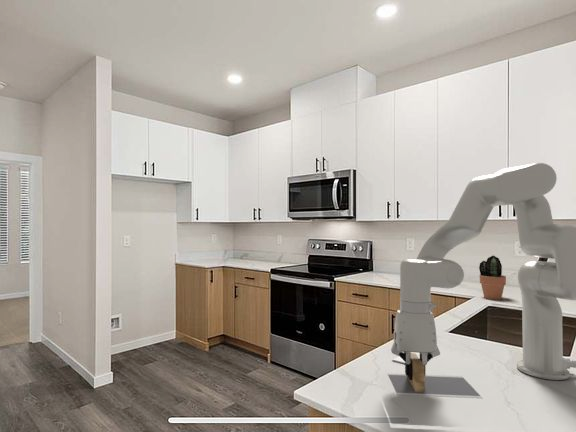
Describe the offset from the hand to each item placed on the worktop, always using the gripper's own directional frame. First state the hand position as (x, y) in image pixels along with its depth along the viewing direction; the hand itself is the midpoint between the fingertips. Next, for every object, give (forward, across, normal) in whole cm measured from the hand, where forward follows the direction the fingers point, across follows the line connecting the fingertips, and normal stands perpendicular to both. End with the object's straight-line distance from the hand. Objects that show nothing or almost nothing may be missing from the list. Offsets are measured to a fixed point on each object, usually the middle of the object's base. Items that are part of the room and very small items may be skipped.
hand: (415, 377), depth 96 cm
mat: (+2, -4, 0) cm, 5 cm away
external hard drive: (+3, -4, -19) cm, 20 cm away
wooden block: (+2, 0, 0) cm, 2 cm away
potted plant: (+2, -76, -127) cm, 148 cm away
